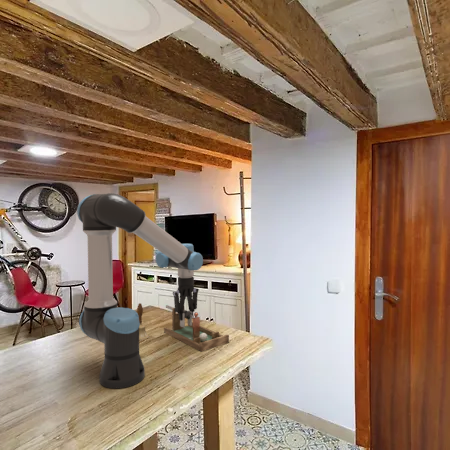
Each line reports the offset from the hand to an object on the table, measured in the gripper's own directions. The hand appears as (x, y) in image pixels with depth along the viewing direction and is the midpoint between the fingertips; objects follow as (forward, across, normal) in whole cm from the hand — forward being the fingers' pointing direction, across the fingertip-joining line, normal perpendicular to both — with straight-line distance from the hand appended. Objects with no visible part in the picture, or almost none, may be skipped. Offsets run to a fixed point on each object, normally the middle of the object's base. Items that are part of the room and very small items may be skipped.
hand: (186, 325), depth 158 cm
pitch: (+5, 0, -7) cm, 9 cm away
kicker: (+3, 0, +4) cm, 5 cm away
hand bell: (+5, -18, +12) cm, 22 cm away
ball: (+3, 0, -14) cm, 14 cm away
